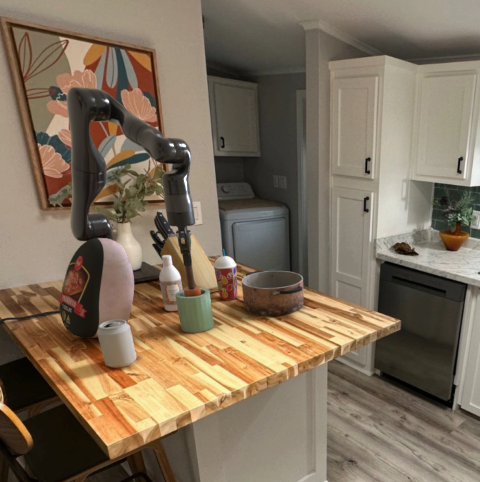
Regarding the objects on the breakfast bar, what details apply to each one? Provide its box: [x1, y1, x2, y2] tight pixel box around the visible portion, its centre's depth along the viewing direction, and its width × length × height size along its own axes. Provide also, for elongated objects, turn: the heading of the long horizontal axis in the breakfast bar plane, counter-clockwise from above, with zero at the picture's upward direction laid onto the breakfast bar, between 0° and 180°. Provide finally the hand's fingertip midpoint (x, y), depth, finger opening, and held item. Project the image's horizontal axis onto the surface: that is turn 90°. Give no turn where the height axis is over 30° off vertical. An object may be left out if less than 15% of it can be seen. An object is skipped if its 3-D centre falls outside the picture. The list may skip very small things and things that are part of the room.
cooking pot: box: [241, 270, 305, 317], centre depth 156 cm, size 30×22×11 cm
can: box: [97, 319, 137, 369], centre depth 111 cm, size 8×8×12 cm
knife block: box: [149, 210, 219, 293], centre depth 170 cm, size 11×35×31 cm, turn 54°
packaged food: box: [59, 238, 135, 339], centre depth 126 cm, size 22×20×30 cm
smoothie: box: [213, 248, 239, 301], centre depth 160 cm, size 8×8×20 cm
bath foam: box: [158, 255, 183, 312], centre depth 148 cm, size 7×7×20 cm
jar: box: [175, 288, 215, 333], centre depth 135 cm, size 10×10×12 cm
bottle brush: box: [183, 248, 201, 297], centre depth 131 cm, size 5×5×18 cm
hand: (188, 264), depth 130 cm, fingers closed on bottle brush
